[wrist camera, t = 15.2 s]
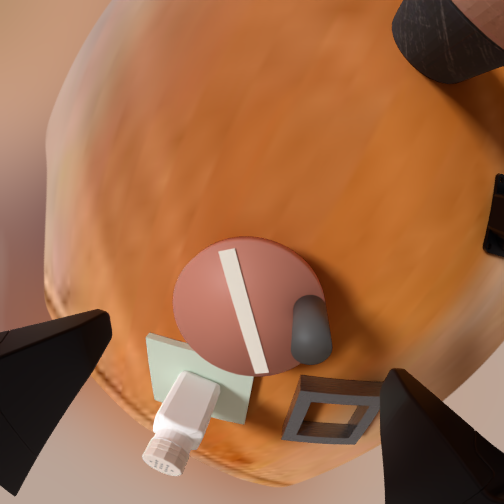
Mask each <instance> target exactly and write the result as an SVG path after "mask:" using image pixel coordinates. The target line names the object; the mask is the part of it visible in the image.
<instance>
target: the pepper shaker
mask: <svg viewBox="0 0 504 504" xmlns="http://www.w3.org/2000/svg"><path fill="white" fill-rule="evenodd" d="M220 392H221V391H220V385H219V384H217V383H215V382H213V381H210V380H208V379H205V378H203V377H201V376H198V375H196V374H194V373H191V372H189V371H183V372H181V373H180V374H179V376H178V377H177V379H176V381H175V383H174V384H173V386H172V388H171V390H170V391H169V393H168V395H167V396H166V398H165V400H164V402H163V403H162V405H161V407H160V409H159V410H158V412H157V414H156V417H155V420H154V425H153V432H154V433H156V434H155V436H154V437H153V438H152V439H151V440H150V442H149V444H148V446H147V448H146V450H145V451H144V453H143V455H142V458H143V460H144V462H146V463H147V464H148V465H149V466H150V467H152V468H154V469H156V470H158V471H159V472H162V473H165V474H168V475H173V476H179V475H182V474H183V471H184V469H185V466H186V464H187V463H186V462H187V461H188V459H189V453H190V451H191V450H197V448H198V447H199V445H200V443H201V441H202V439H203V437H204V434H205V432H206V429H207V426H208V424H209V421H210V418H211V416H212V413H213V410H214V408H215V405H216V402H217V400H218V397H219V394H220Z"/></svg>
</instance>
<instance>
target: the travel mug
mask: <svg viewBox="0 0 504 504" xmlns="http://www.w3.org/2000/svg"><path fill="white" fill-rule="evenodd" d="M392 33H393V37H394V40H395V42H396V44H397V46H398V48H399V50H400V51H401V53H402V54H403V55H404V57H405V58H406V59H407V60H408V61H409V62H410V63H411V64H412V65H413V66H414V67H415V68H416V69H417V70H418V71H420V72H421V73H422V74H424V75H426V76H427V77H429V78H431V79H433V80H435V81H438V82H441V83H447V84H454V83H458V82H461V81H464V80H467V79H469V78H472V77H474V76H477V75H480V74H482V73H485V72H488V71H491V70H493V69H496V68H499V67H502V66H504V0H403V1H402V3H401V5H400V7H399V9H398V11H397V13H396V15H395V17H394V19H393V22H392Z"/></svg>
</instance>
